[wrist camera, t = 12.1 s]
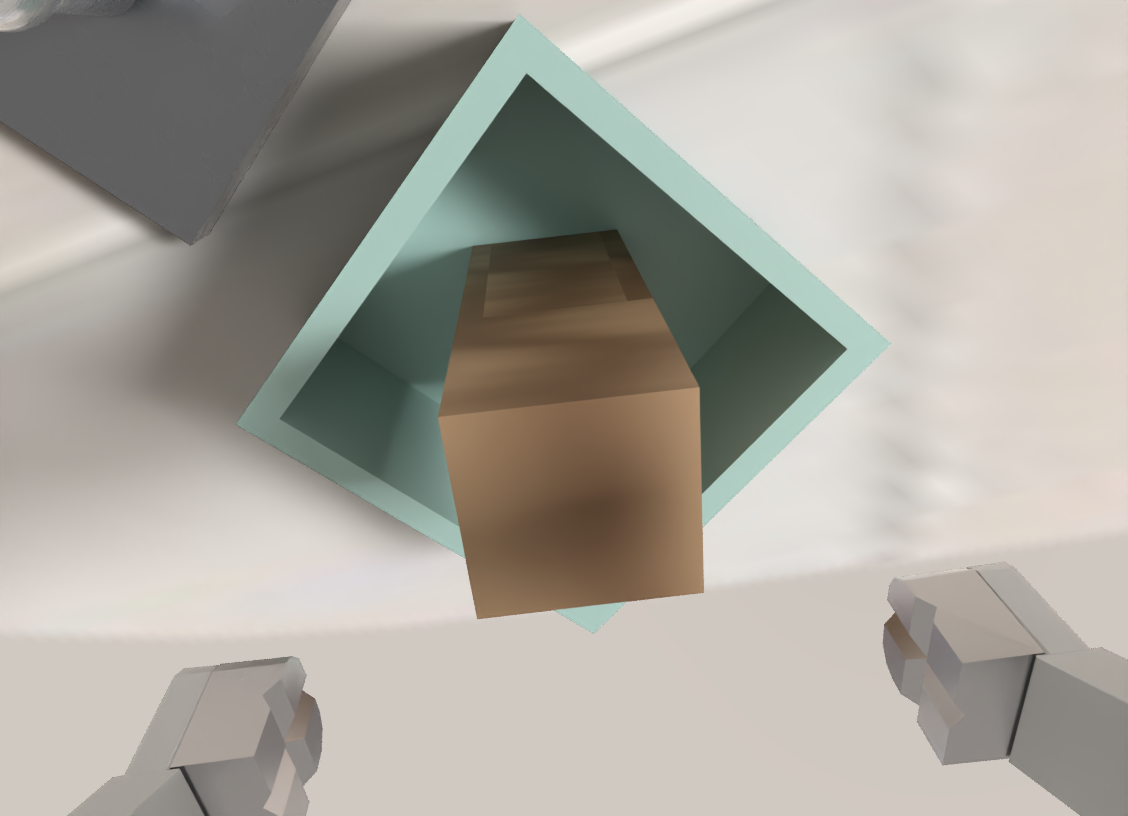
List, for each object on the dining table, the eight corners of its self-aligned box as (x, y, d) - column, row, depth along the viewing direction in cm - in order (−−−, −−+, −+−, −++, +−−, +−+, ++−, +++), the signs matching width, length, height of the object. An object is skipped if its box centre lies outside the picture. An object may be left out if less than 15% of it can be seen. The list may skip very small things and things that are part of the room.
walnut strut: (492, 377, 26) (477, 618, 15) (472, 245, 24) (437, 417, 13) (625, 362, 26) (704, 592, 15) (616, 229, 24) (699, 386, 13)
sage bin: (303, 329, 26) (235, 424, 19) (518, 20, 22) (519, 13, 16) (577, 506, 29) (593, 633, 23) (799, 268, 26) (891, 343, 19)
